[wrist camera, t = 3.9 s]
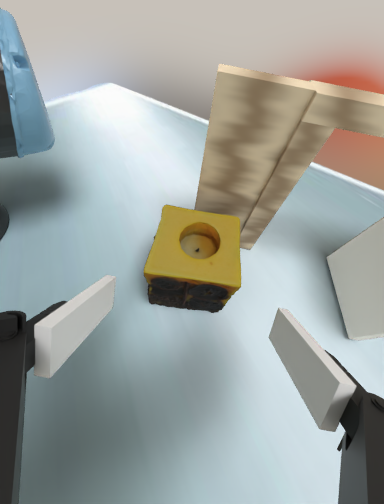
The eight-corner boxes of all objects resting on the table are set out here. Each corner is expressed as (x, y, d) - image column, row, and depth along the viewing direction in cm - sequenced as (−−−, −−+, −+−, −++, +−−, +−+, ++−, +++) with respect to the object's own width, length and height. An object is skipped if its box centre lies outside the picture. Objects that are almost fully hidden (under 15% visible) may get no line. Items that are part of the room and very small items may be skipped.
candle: (148, 304, 26) (139, 274, 18) (163, 246, 32) (161, 202, 23) (219, 315, 27) (242, 291, 18) (221, 255, 32) (240, 215, 24)
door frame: (400, 264, 35) (661, 150, 17) (407, 279, 34) (706, 170, 15) (192, 225, 35) (219, 61, 16) (189, 238, 33) (217, 73, 15)
